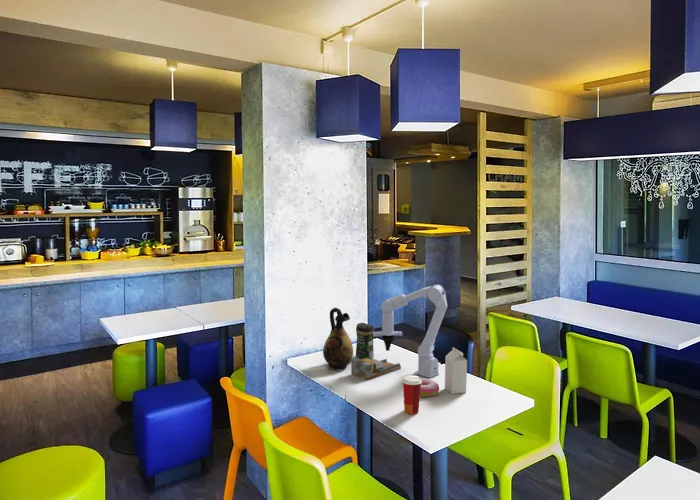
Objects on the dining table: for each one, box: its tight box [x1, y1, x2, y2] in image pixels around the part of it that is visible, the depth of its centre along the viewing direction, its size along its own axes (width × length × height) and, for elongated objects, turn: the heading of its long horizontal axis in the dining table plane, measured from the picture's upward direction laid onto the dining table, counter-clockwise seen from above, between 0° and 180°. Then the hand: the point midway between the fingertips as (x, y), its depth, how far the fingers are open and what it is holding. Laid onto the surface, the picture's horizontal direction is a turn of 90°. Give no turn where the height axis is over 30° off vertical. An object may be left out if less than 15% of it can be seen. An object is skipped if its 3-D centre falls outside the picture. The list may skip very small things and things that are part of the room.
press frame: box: [350, 358, 402, 381], centre depth 253 cm, size 11×24×8 cm, turn 134°
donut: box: [420, 377, 440, 398], centre depth 227 cm, size 14×13×5 cm
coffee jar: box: [355, 322, 375, 360], centre depth 276 cm, size 10×8×19 cm
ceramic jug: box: [322, 307, 354, 371], centre depth 260 cm, size 17×15×30 cm
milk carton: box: [444, 347, 468, 395], centre depth 229 cm, size 7×7×19 cm
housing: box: [361, 358, 374, 372], centre depth 249 cm, size 4×4×6 cm
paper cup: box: [401, 374, 422, 416], centre depth 206 cm, size 8×8×14 cm
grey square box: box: [372, 358, 383, 372], centre depth 252 cm, size 7×6×4 cm
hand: (387, 350), depth 258 cm, fingers closed
